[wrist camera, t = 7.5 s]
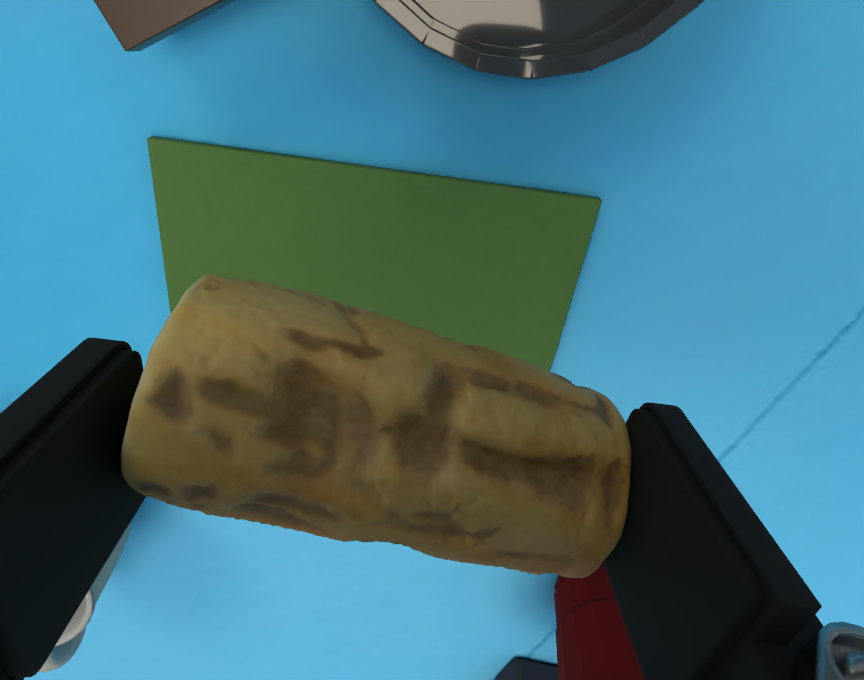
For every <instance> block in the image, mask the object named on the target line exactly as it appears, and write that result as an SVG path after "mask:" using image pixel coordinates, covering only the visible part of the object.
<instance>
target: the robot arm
mask: <svg viewBox="0 0 864 680" xmlns="http://www.w3.org/2000/svg"><path fill="white" fill-rule="evenodd" d="M142 372H143V366H142V359H141V356H140V354H139V352H137V351H132V349H131V347H130V345H129V344H128V343H127V342H125V341H116V340H108V339H99V338H87V339H86V340H84V341H83V342H82V343H80V344H79V345H78V346H77V347H76V348H75V349H74V350H72V351H71V352H70V353H69V354H68V355H67V356H66V357H64V358H63V359H62V360H61V361H60V362H59V363H58V364H57V365H55V366H54V367H53V368H52V369H51V370H50V371H49V372H47V373H46V374H45V375H44V376H43V377H42V378H41V379H39V380H38V381H37V382H36V383H35V384H34V385H33V386H31V387H30V388H29V389H28V390H27V391H26V392H25V393H23V394H22V395H21V396H20V397H19V398H18V399H17V400H15V401H14V402H13V403H12V404H11V405H10V406H9V407H7V408H6V409H5V410H4V411H3V412H2V413H1V414H0V680H23V679H24V678H25V677H32V676H33V675H35V674H36V673H37V672H38V671H39V670H40V669H41V668H42V666H43V665H44V663H45V662H46V660H47V659H48V657H49V655H50V654H51V652H52V650H53V649H54V647H55V645H56V644H57V642H58V640H59V639H60V637H61V635H62V634H63V632H64V631H65V629H66V627H67V626H68V624H69V622H70V621H71V619H72V617H73V616H74V614H75V612H76V611H77V609H78V608H79V606H80V604H81V603H82V601H83V599H84V598H85V596H86V594H87V593H88V591H89V589H90V588H91V586H92V585H93V583H94V581H95V580H96V578H97V576H98V575H99V573H100V571H101V570H102V568H103V566H104V565H105V563H106V561H107V560H108V558H109V557H110V555H111V553H112V552H113V550H114V548H115V547H116V545H117V543H118V542H119V540H120V538H121V537H122V535H123V534H124V532H125V530H126V529H127V527H128V525H129V524H130V522H131V520H132V519H133V517H134V515H135V514H136V512H137V511H138V509H139V507H140V506H141V504H142V502H143V501H144V499H145V497H146V496H145V495H143V494H141V493H139V492H137V491H136V490H134V489H133V488H132V487H131V486H130V485H129V484H128V483H127V482H126V480H125V479H124V477H123V475H122V473H121V451H122V445H123V440H124V435H125V431H126V427H127V423H128V419H129V413H130V409H131V405H132V401H133V398H134V395H135V392H136V389H137V387H138V384H139V381H140V378H141V375H142ZM626 427H627V431H628V436H629V441H630V445H631V450H632V453H631V470H630V488H629V498H628V510H627V516H626V520H625V524H624V528H623V532H622V536H621V538H620V539H619V541H618V542H617V544H616V546H615V548H614V549H613V550H612V552H611V553H610V554H609V555H608V556H607V557H606V558H605V559H604V561H603V564H604V567H605V570H606V573H607V575H608V578H609V581H610V584H611V587H612V590H613V592H614V595H615V598H616V601H617V604H618V607H619V610H620V612H621V615H622V618H623V621H624V624H625V627H626V629H627V632H628V635H629V638H630V641H631V644H632V646H633V649H634V652H635V655H636V658H637V661H638V663H639V666H640V669H641V672H642V675H643V678H644V680H864V628H863V627H861V626H857V625H853V624H849V623H845V622H834V623H829V624H827V625H826V626H824V627H823V625H822V624H821V622H820V621H819V619H818V618H817V616H816V615H815V614H816V613H817V612H818V611H819V609H820V608H821V607H822V606H821V605H820V603H819V602H818V600H817V599H816V598H815V596H814V595H813V593H812V592H811V591H810V589H809V588H808V586H807V585H806V584H805V582H804V581H803V579H802V578H801V577H800V575H799V574H798V572H797V571H796V570H795V568H794V567H793V565H792V564H791V563H790V561H789V560H788V558H787V557H786V556H785V554H784V553H783V551H782V550H781V549H780V547H779V546H778V544H777V543H776V542H775V540H774V539H773V537H772V536H771V535H770V533H769V532H768V530H767V529H766V528H765V526H764V525H763V523H762V522H761V521H760V519H759V518H758V516H757V515H756V514H755V512H754V511H753V509H752V508H751V507H750V505H749V504H748V502H747V501H746V500H745V498H744V497H743V495H742V494H741V493H740V491H739V490H738V488H737V487H736V486H735V484H734V483H733V481H732V480H731V479H730V477H729V476H728V475H727V473H726V472H725V470H724V469H723V468H722V466H721V465H720V463H719V462H718V461H717V459H716V458H715V456H714V455H713V454H712V452H711V451H710V449H709V448H708V447H707V445H706V444H705V442H704V441H703V440H702V438H701V437H700V435H699V434H698V433H697V431H696V430H695V428H694V427H693V426H692V424H691V423H690V421H689V420H688V419H687V417H686V416H685V414H684V413H683V412H682V410H681V409H680V408H679V407H677V406H674V405H665V404H657V403H644V404H643V405H642V406H641V407H640V409H634V410H633V411H632V412H631V414H630V416H629V418H628V420H627V422H626Z"/></svg>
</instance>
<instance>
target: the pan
mask: <svg viewBox="0 0 864 680" xmlns="http://www.w3.org/2000/svg"><path fill="white" fill-rule="evenodd" d="M373 1H374V2H375V4H376V5H377V6H378V7H379V8H380V9H382V10H383V11H384V12H385V13H386V14H387V15H388V16H389V17H390V18H392V19H393V20H394V21H395V22H396V23H397V24H398V25H399V26H401V27H402V28H403V29H404V30H405V31H406V32H407V33H408V34H410V35H411V36H412V37H413V38H414V39H415V40H416V41H417V42H419V43H420V44H422V45H423V46H424V47H426V48H428V49H430V50H432V51H434V52H436V53H438V54H441V55H443V56H445V57H447V58H449V59H451V60H453V61H455V62H457V63H459V64H461V65H463V66H465V67H467V68H470V69H472V70H475V71H478V72H485V73H491V74H497V75H504V76H510V77H517V78H523V79H540V78H547V77H554V76H561V75H568V74H575V73H582V72H587V71H591V70H593V69H595V68H598V67H600V66H602V65H605V64H607V63H609V62H611V61H614V60H616V59H618V58H621V57H623V56H625V55H627V54H630V53H632V52H634V51H637V50H639V49H641V48H643V47H644V46H646V45H648V44H649V43H651V42H652V41H653V40H655V39H656V38H657V37H659V36H660V35H661V34H663V33H664V32H665V31H666V30H668V29H669V28H670V27H672V26H673V25H674V24H676V23H677V22H678V21H680V20H681V19H682V18H684V17H685V16H686V15H687V14H689V13H690V12H691V11H693V10H694V9H695V8H697V7H698V6H699V5H700V4H701V3H702V2H703V1H704V0H373Z"/></svg>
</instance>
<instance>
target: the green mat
mask: <svg viewBox="0 0 864 680" xmlns="http://www.w3.org/2000/svg"><path fill="white" fill-rule="evenodd" d="M147 141H148V148H149V156H150V163H151V170H152V178H153V185H154V193H155V200H156V207H157V215H158V222H159V230H160V237H161V244H162V252H163V259H164V267H165V274H166V281H167V289H168V296H169V304H170V311H171V313H172V311H173V310H174V309H175V307H176V306H177V304H178V303H179V301H180V299H181V298H182V296H183V294H184V293H185V292H186V290H188V289H189V288H190V287H191V286H192V285H193V284H194V283H195V282H196V281H197V280H198V279H200V278H201V277H203V276H204V275H207V274H217V275H221V276H223V277H226V278H229V279H245V280H249V281H255V282H264V283H268V284H272V285H277V286H279V287H281V288H284V289H297V290H298V291H302V292H307V293H313V294H316V295H318V296H322V297H325V298H328V299H331V300H335V301H337V302H339V303H342V304H345V305H347V306H353V307H359V308H361V309H363V310H370V311H372V312H375V313H379V314H383V315H387V316H389V317H392V318H394V319H397V320H400V321H402V322H403V323H406V324H409V325H411V326H416V327H424V328H425V329H427V330H428V331H430V332H432V333H434V334H436V335H438V336H445V337H448V338H449V339H451V340H453V341H457V342H460V343H462V344H464V345H478V346H484V347H487V348H490V349H492V350H495V351H498V352H502V353H504V354H507V355H510V356H513V357H515V358H519V359H521V360H523V361H525V362H528V363H531V364H534V365H536V366H538V367H541V368H543V369H545V370H546V371H548V372H550V369H551V366H552V363H553V359H554V356H555V353H556V349H557V346H558V343H559V340H560V336H561V333H562V330H563V326H564V323H565V320H566V317H567V313H568V310H569V307H570V303H571V300H572V297H573V294H574V290H575V287H576V284H577V280H578V277H579V274H580V271H581V267H582V264H583V261H584V257H585V254H586V251H587V248H588V244H589V241H590V238H591V234H592V231H593V228H594V225H595V221H596V218H597V215H598V211H599V208H600V205H601V202H602V200H601V199H600V198H599V197H592V196H585V195H578V194H570V193H563V192H556V191H549V190H541V189H534V188H527V187H519V186H512V185H505V184H497V183H490V182H483V181H476V180H468V179H461V178H454V177H446V176H439V175H432V174H424V173H417V172H410V171H403V170H395V169H388V168H381V167H373V166H366V165H359V164H351V163H344V162H337V161H330V160H322V159H315V158H308V157H300V156H293V155H286V154H278V153H271V152H264V151H257V150H249V149H242V148H235V147H227V146H220V145H213V144H205V143H198V142H191V141H184V140H176V139H169V138H162V137H154V136H152V137H149V138H147Z"/></svg>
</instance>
